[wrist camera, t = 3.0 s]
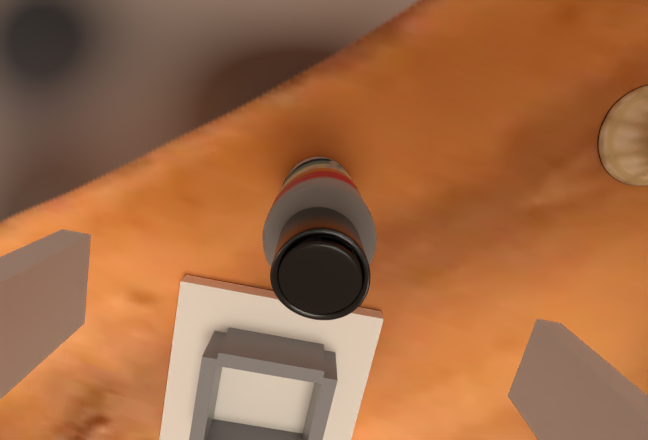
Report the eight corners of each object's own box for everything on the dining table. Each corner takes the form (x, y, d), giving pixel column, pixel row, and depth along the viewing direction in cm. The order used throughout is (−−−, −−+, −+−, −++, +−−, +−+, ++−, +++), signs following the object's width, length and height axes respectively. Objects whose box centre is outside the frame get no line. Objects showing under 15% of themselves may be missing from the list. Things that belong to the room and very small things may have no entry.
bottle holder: (381, 311, 37) (391, 343, 32) (339, 467, 41) (342, 519, 36) (186, 274, 36) (163, 301, 30) (163, 439, 40) (140, 488, 35)
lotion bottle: (363, 173, 34) (425, 246, 14) (334, 231, 35) (355, 371, 16) (302, 143, 33) (281, 179, 14) (274, 204, 34) (219, 316, 15)
